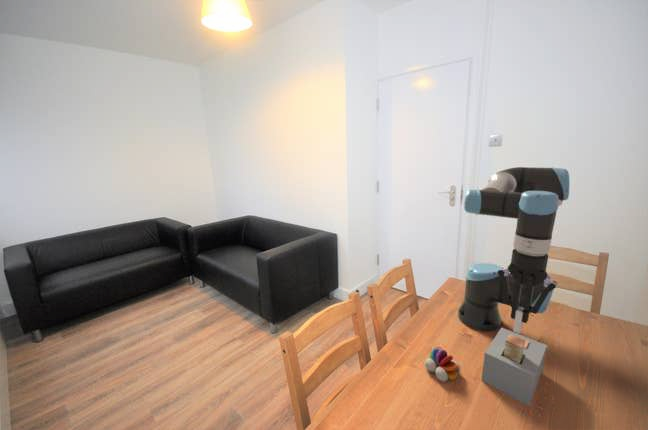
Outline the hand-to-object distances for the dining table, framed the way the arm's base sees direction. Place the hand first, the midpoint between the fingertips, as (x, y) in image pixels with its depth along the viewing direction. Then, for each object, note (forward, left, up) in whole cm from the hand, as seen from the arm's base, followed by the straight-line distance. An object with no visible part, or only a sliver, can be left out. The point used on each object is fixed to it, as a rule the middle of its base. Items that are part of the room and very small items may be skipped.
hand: (517, 329), depth 77 cm
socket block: (0, +4, -19) cm, 19 cm away
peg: (0, 0, -14) cm, 14 cm away
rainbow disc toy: (-16, -9, -19) cm, 26 cm away
